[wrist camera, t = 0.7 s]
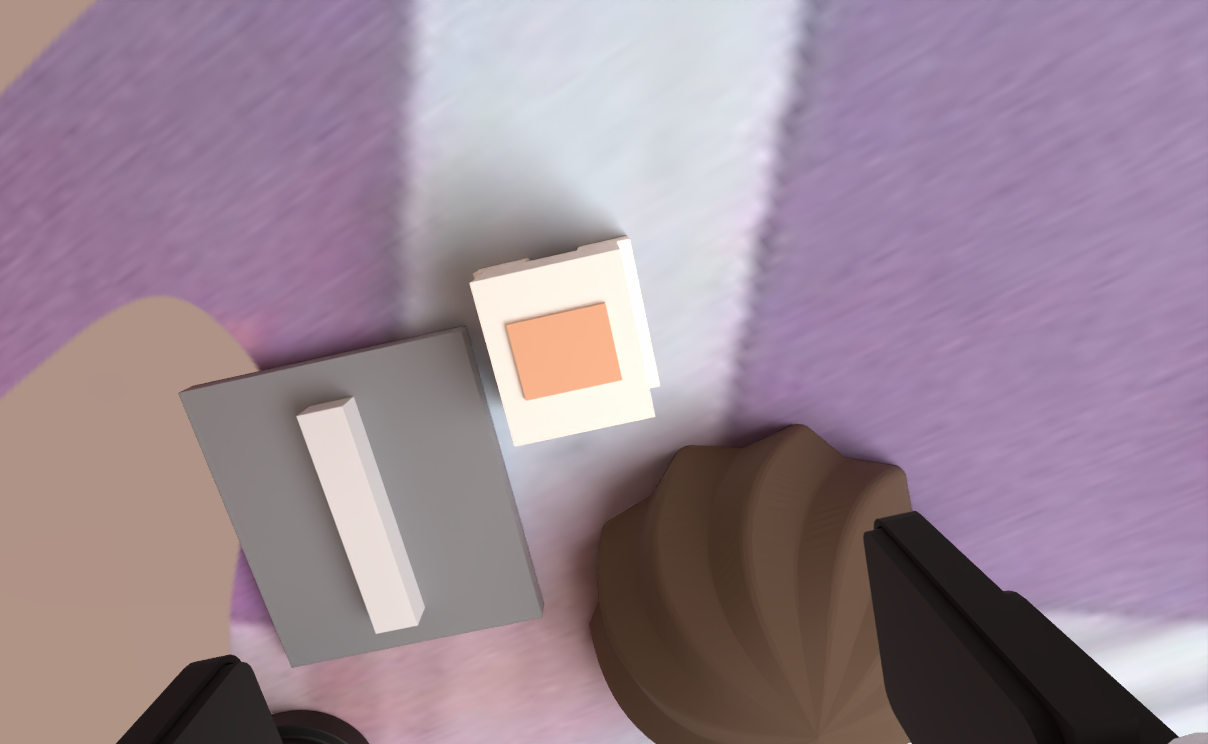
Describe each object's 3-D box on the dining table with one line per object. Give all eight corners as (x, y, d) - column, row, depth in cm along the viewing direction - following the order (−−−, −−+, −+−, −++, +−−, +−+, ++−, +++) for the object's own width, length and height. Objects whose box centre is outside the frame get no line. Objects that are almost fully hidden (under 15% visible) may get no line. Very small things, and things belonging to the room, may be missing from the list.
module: (480, 268, 31) (453, 286, 25) (627, 235, 31) (635, 246, 25) (516, 404, 33) (499, 451, 27) (656, 374, 33) (670, 415, 27)
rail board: (192, 385, 32) (157, 402, 30) (465, 325, 32) (454, 337, 29) (301, 652, 37) (278, 687, 34) (544, 603, 36) (540, 635, 33)
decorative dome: (683, 781, 40) (711, 969, 30) (526, 519, 35) (500, 643, 25) (986, 656, 38) (1120, 815, 28) (863, 359, 33) (974, 429, 23)
